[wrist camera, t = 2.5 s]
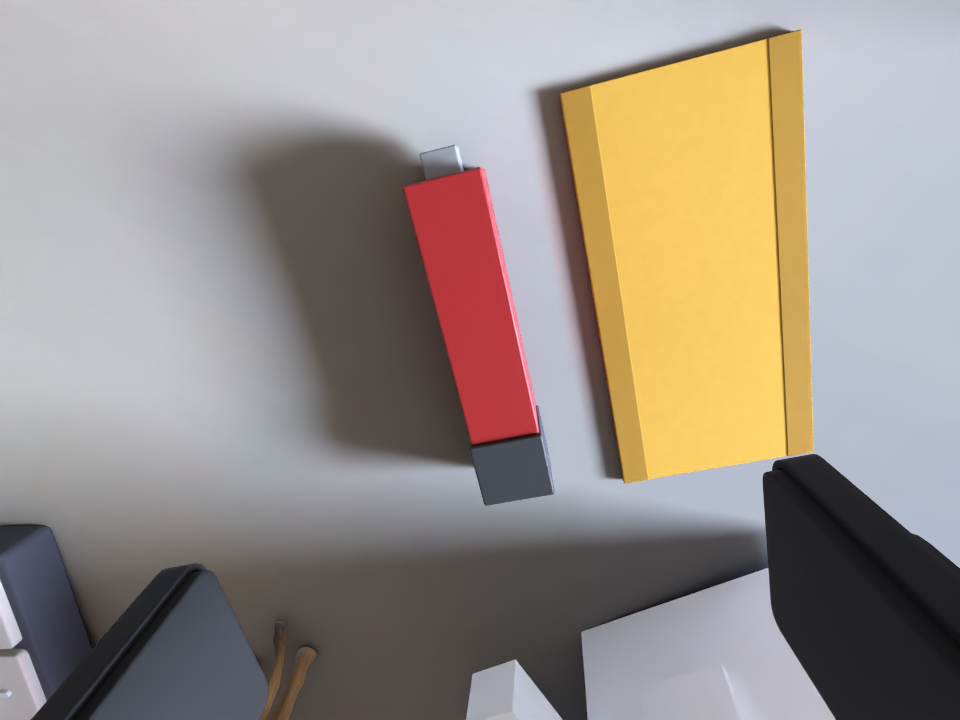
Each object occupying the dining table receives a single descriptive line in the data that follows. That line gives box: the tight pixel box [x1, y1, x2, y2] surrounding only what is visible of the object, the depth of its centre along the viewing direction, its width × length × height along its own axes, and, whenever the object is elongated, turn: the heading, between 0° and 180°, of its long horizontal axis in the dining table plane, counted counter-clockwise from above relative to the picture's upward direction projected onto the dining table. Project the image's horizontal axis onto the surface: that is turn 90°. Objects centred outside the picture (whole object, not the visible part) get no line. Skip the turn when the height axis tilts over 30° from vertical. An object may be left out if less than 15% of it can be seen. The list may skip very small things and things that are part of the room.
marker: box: [403, 145, 554, 505], centre depth 22 cm, size 3×15×3 cm, turn 13°
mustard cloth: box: [559, 30, 814, 483], centre depth 22 cm, size 9×18×1 cm, turn 13°
